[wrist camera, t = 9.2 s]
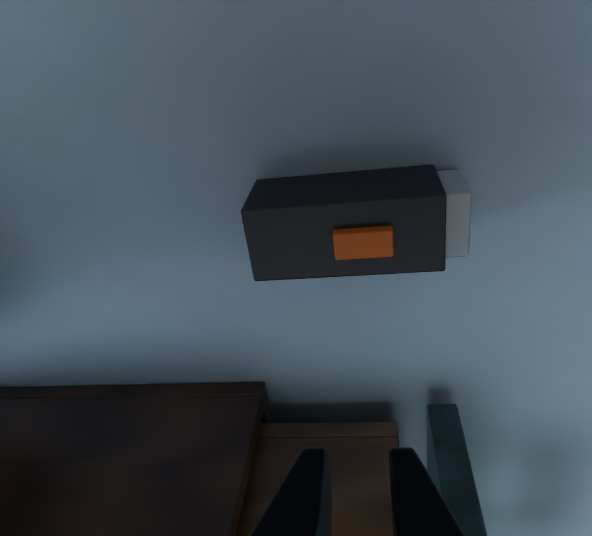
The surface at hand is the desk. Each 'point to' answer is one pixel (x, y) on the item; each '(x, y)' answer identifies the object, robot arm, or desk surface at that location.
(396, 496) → the robot arm
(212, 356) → the desk surface
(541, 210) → the desk surface
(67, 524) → the cabinet
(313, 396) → the desk surface
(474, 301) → the desk surface
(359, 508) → the drawer
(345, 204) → the black block orange patch
